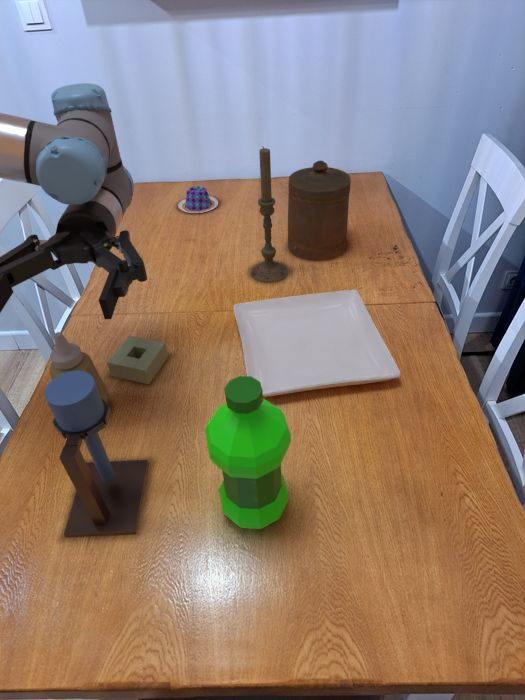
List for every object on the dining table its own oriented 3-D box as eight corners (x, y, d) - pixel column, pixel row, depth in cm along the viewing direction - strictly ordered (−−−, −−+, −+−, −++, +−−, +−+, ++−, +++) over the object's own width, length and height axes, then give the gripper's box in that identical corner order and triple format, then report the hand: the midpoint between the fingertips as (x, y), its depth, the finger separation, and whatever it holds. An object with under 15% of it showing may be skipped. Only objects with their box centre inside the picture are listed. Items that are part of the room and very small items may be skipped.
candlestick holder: (253, 263, 122) (245, 138, 102) (290, 264, 120) (289, 138, 101) (247, 283, 115) (238, 154, 95) (286, 285, 114) (284, 154, 94)
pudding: (223, 199, 150) (221, 182, 147) (211, 216, 142) (209, 199, 138) (186, 196, 153) (184, 180, 149) (172, 214, 144) (169, 197, 140)
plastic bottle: (224, 476, 75) (205, 357, 59) (293, 481, 74) (293, 360, 58) (213, 538, 68) (187, 421, 51) (289, 544, 67) (287, 426, 50)
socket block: (112, 377, 93) (106, 362, 90) (133, 350, 99) (128, 335, 96) (149, 386, 91) (145, 370, 88) (168, 358, 96) (165, 342, 94)
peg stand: (86, 467, 78) (51, 393, 67) (149, 463, 78) (125, 389, 66) (66, 538, 69) (21, 467, 58) (137, 535, 69) (106, 463, 57)
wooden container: (347, 234, 130) (353, 150, 116) (344, 264, 120) (351, 175, 105) (291, 232, 133) (291, 149, 118) (284, 260, 122) (282, 173, 107)
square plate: (251, 410, 85) (250, 395, 83) (233, 316, 106) (232, 302, 103) (400, 388, 88) (403, 373, 85) (355, 300, 108) (356, 286, 105)
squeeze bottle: (64, 434, 83) (26, 356, 71) (68, 400, 89) (33, 322, 77) (112, 425, 84) (83, 347, 72) (113, 392, 90) (86, 314, 78)
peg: (79, 487, 71) (33, 399, 59) (101, 455, 76) (63, 366, 63) (115, 498, 70) (75, 409, 57) (135, 464, 74) (103, 375, 62)
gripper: (180, 242, 73) (161, 333, 57) (15, 250, 73) (-50, 342, 58) (172, 194, 68) (148, 279, 52) (-6, 203, 68) (-83, 290, 53)
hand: (44, 312), depth 55 cm, fingers open, 13 cm apart
